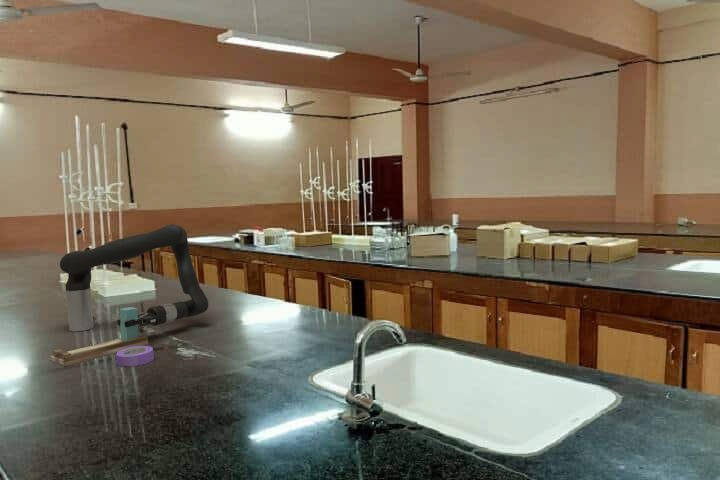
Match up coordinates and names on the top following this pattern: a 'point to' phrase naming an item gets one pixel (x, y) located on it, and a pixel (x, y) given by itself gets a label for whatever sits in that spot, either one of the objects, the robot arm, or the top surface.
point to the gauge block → (127, 315)
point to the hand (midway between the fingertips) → (121, 323)
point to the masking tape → (135, 356)
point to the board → (95, 351)
